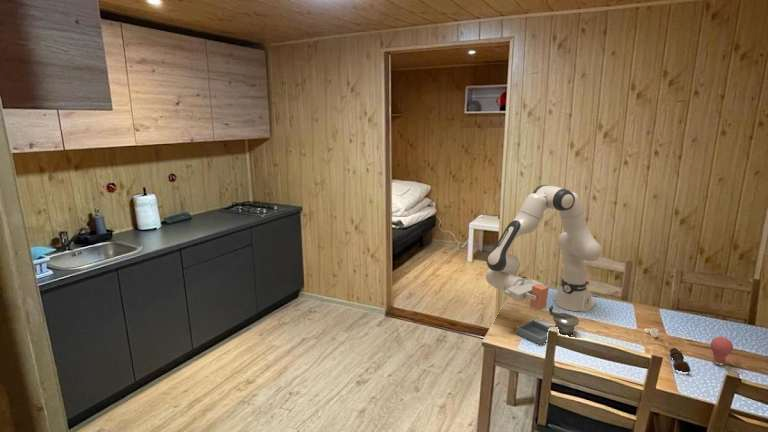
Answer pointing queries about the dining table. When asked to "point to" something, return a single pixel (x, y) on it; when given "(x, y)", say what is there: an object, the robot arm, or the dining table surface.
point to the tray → (533, 332)
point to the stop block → (539, 296)
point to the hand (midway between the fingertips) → (541, 296)
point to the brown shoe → (679, 361)
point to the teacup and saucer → (652, 331)
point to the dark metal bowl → (564, 322)
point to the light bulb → (721, 348)
